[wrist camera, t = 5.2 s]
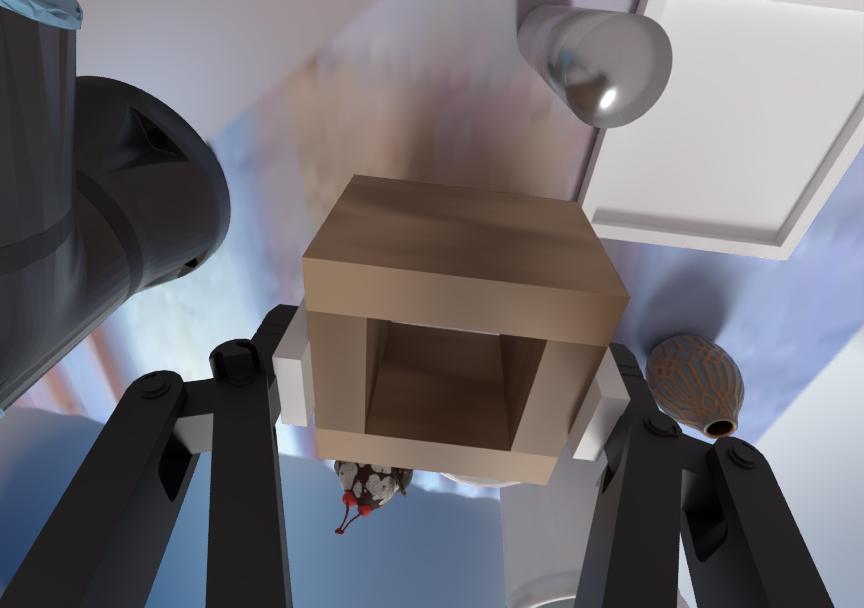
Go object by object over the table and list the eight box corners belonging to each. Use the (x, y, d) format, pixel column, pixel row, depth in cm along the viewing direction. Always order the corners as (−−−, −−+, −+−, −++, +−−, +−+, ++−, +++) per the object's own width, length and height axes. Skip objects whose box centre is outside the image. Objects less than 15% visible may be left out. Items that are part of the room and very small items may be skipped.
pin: (512, 62, 28) (553, 122, 15) (524, 1, 26) (582, 7, 13) (562, 68, 28) (648, 134, 15) (577, 7, 26) (691, 20, 13)
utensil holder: (544, 388, 44) (580, 578, 30) (659, 439, 47) (742, 632, 33) (470, 464, 52) (471, 641, 38) (573, 502, 55) (609, 680, 41)
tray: (569, 225, 34) (573, 234, 32) (651, -36, 24) (660, -38, 23) (775, 250, 34) (786, 260, 33) (934, -1, 24) (958, -1, 23)
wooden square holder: (354, 345, 20) (318, 457, 15) (354, 174, 15) (301, 257, 11) (527, 366, 20) (546, 485, 15) (578, 202, 15) (630, 297, 11)
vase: (734, 344, 39) (793, 422, 32) (672, 389, 43) (713, 468, 36) (679, 309, 37) (729, 383, 30) (619, 359, 41) (651, 435, 34)
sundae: (346, 390, 46) (302, 533, 34) (378, 352, 43) (343, 495, 30) (399, 416, 48) (376, 561, 36) (434, 382, 44) (421, 529, 32)
